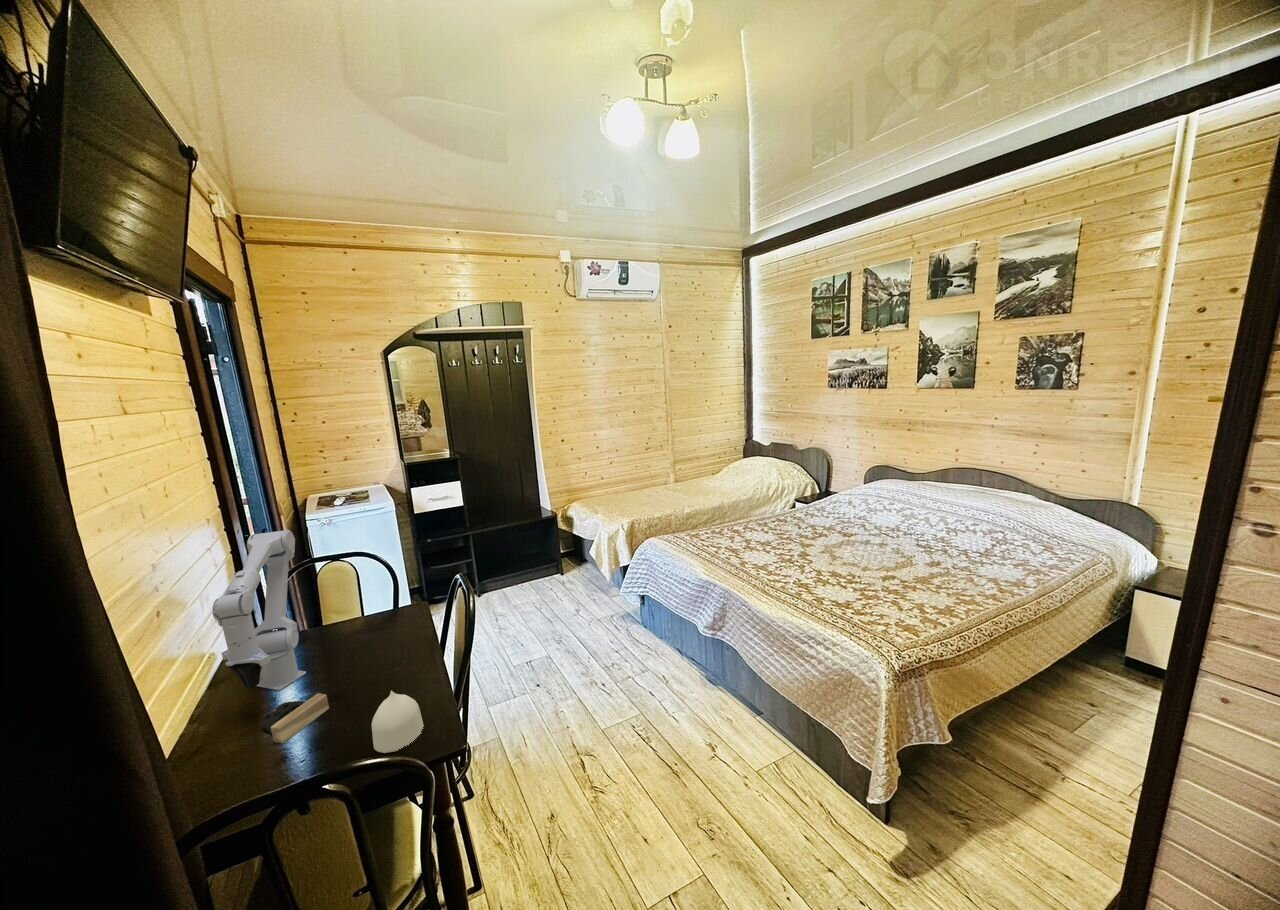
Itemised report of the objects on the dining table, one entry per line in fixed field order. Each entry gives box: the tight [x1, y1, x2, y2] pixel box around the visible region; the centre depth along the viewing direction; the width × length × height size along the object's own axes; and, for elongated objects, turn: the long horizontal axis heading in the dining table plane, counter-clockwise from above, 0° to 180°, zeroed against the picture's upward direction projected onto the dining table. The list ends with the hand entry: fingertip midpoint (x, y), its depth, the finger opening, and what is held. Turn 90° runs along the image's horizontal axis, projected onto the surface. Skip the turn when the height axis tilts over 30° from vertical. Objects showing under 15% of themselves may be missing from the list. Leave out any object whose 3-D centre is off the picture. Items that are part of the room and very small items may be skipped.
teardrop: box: [371, 690, 425, 754], centre depth 109 cm, size 11×11×12 cm
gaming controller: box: [260, 700, 306, 734], centre depth 117 cm, size 10×5×6 cm
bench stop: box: [271, 692, 330, 745], centre depth 115 cm, size 3×12×4 cm, turn 163°
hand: (252, 685), depth 118 cm, fingers closed
